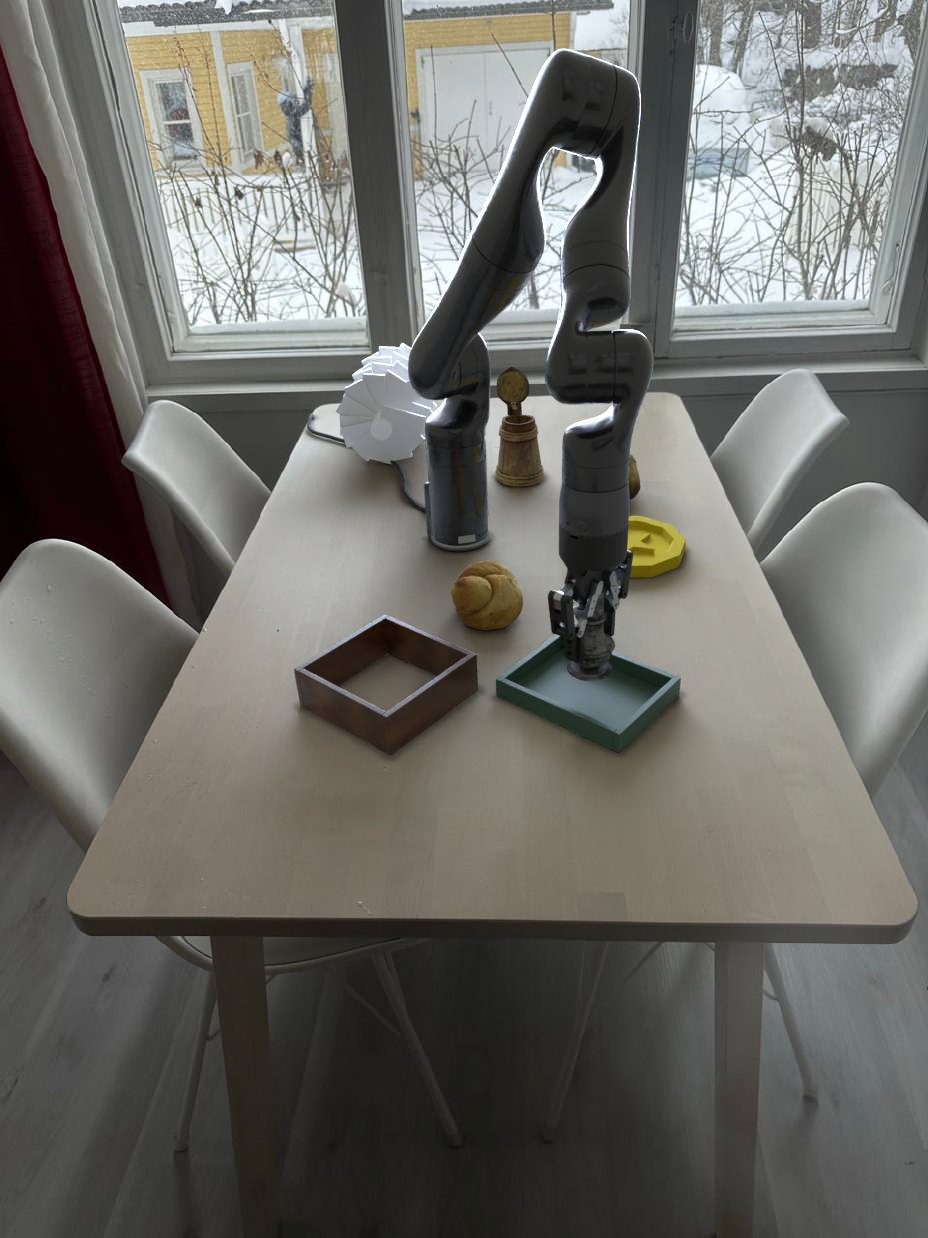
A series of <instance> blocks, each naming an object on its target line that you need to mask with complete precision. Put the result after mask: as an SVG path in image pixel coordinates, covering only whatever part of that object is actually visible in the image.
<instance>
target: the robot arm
mask: <svg viewBox="0 0 928 1238" xmlns="http://www.w3.org/2000/svg"><path fill="white" fill-rule="evenodd" d="M640 91H641V90H640V86H639V81H638V80H637V77H636V76H635V75H634V73H632V72H631V71H629V70H627V69H626V68H624V67H621V66H619V65H616V64H614V63H611V62H608V61H606V60H603V59H600V58H597V57H595V56H592V55H589V54H585V53H583V52H581V51H580V52H579V51H577V50H573V49H569V48H559V49H557V50H555V51H553V53H551V54H550V56H549V57H548V58H547V60H545V62H544V64H543V66H542V67H541V69H540V71H539V73H538V75H537V76H536V79H535V81H534V84H533V86H532V89H531V92H530V94H529V96H528V99H527V101H526V104H525V107H524V110H523V112H522V114H521V118H520V120H519V123H518V126H517V128H516V130H515V134H514V136H513V139H512V142H511V144H510V147H509V150H508V153H507V154H506V158H505V161H504V163H503V164H502V167H501V170H500V172H499V174H498V176H497V179H496V181H495V182H494V186H493V187H492V190H491V192H490V193H489V196H488V197H487V199H486V202H485V204H484V205H483V208H482V210H481V212H480V214H479V216H478V217H477V219H476V222H475V223H474V225H473V227H472V230H471V231H470V234H469V235H468V239H467V241H466V242H465V245H464V247H463V250H462V252H461V254H460V256H459V260H458V262H457V264H456V267H455V268H454V270H453V272H452V274H451V276H450V278H449V281H448V283H447V284H446V287H445V288H444V291H443V292H442V295H441V297H440V298H439V301H438V302H437V304H436V306H435V308H433V309H434V310H433V311H432V313H431V314H430V316H429V317H428V319H427V320H426V321H425V324H424V325H423V327H422V328H421V330H420V331H419V333H418V335H417V336H416V338H415V340H414V342H413V343H412V346H411V347H410V348H411V351H410V354H409V359H408V376H409V380H410V383H411V386H412V388H413V389H414V391H415V392H416V393H417V394H418V395H419V396H421V397H423V398H425V399H428V400H434V401H440V400H441V401H442V400H443V402H442V403H441V404H440V406H439V407H438V408H437V409H436V410H435V411H433V412H434V413H433V414H432V415H431V416H430V417H429V418H428V419H427V420H426V423H425V433H424V438H425V440H424V441H425V455H426V468H427V481H426V482H424V484H423V492H424V493H423V494H424V506H423V505H421V504H419V503H418V502H417V501H416V500H415V499H414V498H413V497H412V496H411V495H410V493H409V492H408V481H407V477H406V475H405V472H404V470H403V469H402V467H401V465H399V463H398V462H397V461H392V460H391V461H390V462H391V463H392V464H391V465H393V467H394V468H395V469H396V470H397V472H398V473H399V475H400V477H401V480H402V492H403V496H404V498H405V499H406V500H407V501H408V503H410V504H411V505H412V506H413V507H415V508H416V509H418V510H420V511H422V512H424V513H425V520H426V521H425V523H426V536H427V539H430V540H431V542H432V544H433V545H434V546H436V547H437V548H439V549H442V550H444V551H449V552H466V551H467V552H468V551H472V550H476V549H478V548H481V547H483V546H485V545H486V544H487V543H488V542H489V540H490V537H491V536H490V529H489V528H490V527H489V495H488V492H489V491H488V464H487V461H488V460H487V440H486V439H487V436H486V433H487V432H486V429H487V425H488V422H489V420H490V415H491V378H492V377H491V376H492V375H491V373H492V372H491V371H492V370H491V359H490V353H489V350H488V346H487V343H486V341H485V339H484V338H483V336H482V334H481V333H480V332H481V331H483V330H484V329H485V328H486V327H487V326H488V325H490V324H491V323H492V322H493V321H494V320H496V318H498V317H499V316H500V315H502V314H503V313H504V311H506V310H507V309H508V307H510V306H511V305H512V304H513V303H514V302H515V301H516V300H517V299H518V298H519V297H520V295H521V294H522V293H523V291H524V289H525V288H526V287H527V286H528V283H529V281H530V280H531V278H532V276H533V274H534V272H535V271H536V268H537V267H538V265H539V264H540V262H541V260H542V258H543V256H544V253H545V250H546V244H547V231H546V222H545V215H544V209H543V204H542V199H541V191H540V172H541V169H542V166H543V163H544V161H545V158H546V156H547V155H548V153H549V152H550V150H552V149H556V150H560V151H563V152H567V153H570V154H572V155H575V156H576V155H577V156H580V157H583V158H585V159H590V160H594V162H595V166H596V173H597V175H596V176H597V177H596V181H595V183H594V185H593V186H592V188H591V189H590V191H589V192H588V194H587V195H586V196H585V198H584V199H583V201H582V202H581V203H580V204H579V205H578V207H577V209H576V210H575V211H574V213H573V214H572V215H571V217H570V219H569V220H568V222H567V224H566V227H565V229H564V231H563V234H562V238H561V242H560V249H559V271H560V272H559V274H560V275H559V276H560V277H559V278H560V305H559V313H558V317H557V322H556V326H555V329H554V332H553V336H552V338H551V342H550V344H549V348H548V351H547V355H546V360H545V365H544V382H545V385H546V388H547V390H548V392H549V394H550V396H551V397H552V398H553V399H554V400H555V401H557V402H558V403H560V404H562V405H568V406H571V405H572V406H576V405H579V406H580V405H607V404H608V405H609V404H611V405H610V406H609V408H608V409H607V410H606V411H605V412H604V413H602V414H600V415H598V416H595V417H592V418H587V419H584V420H581V421H578V422H575V423H573V424H571V425H569V426H568V427H567V428H566V429H565V431H564V432H563V436H562V445H561V486H560V491H559V498H558V499H559V501H558V555H559V558H560V560H561V561H562V562H563V563H564V565H565V568H566V575H565V578H564V582H563V584H564V585H563V586H562V587H561V588H560V589H559V590H555V589H550V590H549V591H548V593H547V604H548V611H549V624H550V630H551V634H553V635H555V634H556V635H559V636H562V637H564V655H565V657H566V658H567V659H568V660H571V661H573V662H576V663H580V662H581V661H582V660H583V659H584V630H585V627H586V623H587V620H588V619H589V618H591V617H592V616H593V613H594V609H595V606H596V602H597V598H598V596H599V595H600V594H601V592H603V593H604V612H605V613H606V615H607V618H606V620H605V621H604V633H606V634H608V635H609V636H611V637H612V638H613V636H614V635H615V629H616V628H615V627H616V611H617V610H618V609H619V607H620V603H621V602H620V600H621V599H622V600H625V599H627V597H628V595H629V588H630V581H631V578H630V575H631V567H632V560H633V552H631V551H628V550H627V545H628V527H629V516H630V510H631V509H630V507H631V500H630V494H629V461H630V454H631V446H632V440H633V434H634V431H635V427H636V423H637V421H638V417H639V414H640V411H641V407H642V405H643V402H644V400H645V397H646V395H647V392H648V389H649V387H650V383H651V379H652V376H653V372H654V367H655V365H654V364H655V357H654V351H653V348H652V345H651V343H650V340H649V339H648V338H647V337H646V335H645V334H643V333H642V332H640V331H638V330H635V329H613V330H595V329H598V328H601V327H605V326H608V325H611V324H613V323H615V322H617V321H619V320H621V319H622V318H623V317H624V316H625V315H626V314H627V312H628V311H629V308H630V305H631V299H632V297H631V295H632V294H631V293H632V292H631V291H632V290H631V272H630V253H629V221H630V220H629V217H630V207H631V199H632V192H633V184H634V177H635V170H636V169H635V168H636V161H637V159H636V158H637V151H638V150H637V149H638V142H639V141H638V140H639V131H640V122H641V105H642V103H641V92H640ZM314 419H315V414H314V413H310V414H309V415H308V418H307V421H306V427H307V430H308V432H310V433H311V434H313V435H315V436H318V437H322V438H325V439H329V440H332V441H336V442H339V443H342V444H346V443H345V441H344V438H343V437H342V438H341V437H338V436H335V435H331V434H329V433H324V432H321V431H317V430H315V429H313V428H312V420H314ZM617 579H619V580H620V586H619V585H618V582H617ZM576 603H577V604H579V603H580V604H583V605H586V608H585V609H582V608H579V606H576ZM575 615H577V616H578V617H579V620H577V622H576V623H577V624H575Z"/></svg>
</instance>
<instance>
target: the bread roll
mask: <svg viewBox="0 0 928 1238" xmlns="http://www.w3.org/2000/svg"><path fill="white" fill-rule="evenodd" d="M450 596H451V600H452V603H453V605H454V607H455V611H456V614H457V616H458V618H459V620H461V622H462V623H463V624H464V625H465V626H468V627H470V628H473V629H475V630H478V631H479V630H480V631H482V630H483V631H491V630H499V629H503V628H505V627H508V626H510V625H511V624H513V623H514V621H516V619H518V618H519V616H520V615H521V613H522V610H523V608H524V607H523V606H524V597H523V594H522V590H521V589H520V587H519V585H518V582H517V580H516V577H515V575H514V574H513V573H512V571H511V570H510V569H509V568H508V567H507V566H504V565H502V563H499V562H498V561H496V560H491V559H490V560H481V561H477V562H473V563H470V564H468V565H467V566H465V568H464V569H463V570H461V572H460V573H459V575H458V576H457V578H456V580H455V582H454V583H453V584H452V586H451V589H450Z"/></svg>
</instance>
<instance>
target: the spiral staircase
mask: <svg viewBox="0 0 928 1238" xmlns="http://www.w3.org/2000/svg"><path fill="white" fill-rule="evenodd" d="M411 348H412V347H410V346H409V345H407V344H405V343H404V342H401V344H400V345H399V347H396V346H382V345H381V346H378V351H377V352H375V353H374V354H372V355H370V356H368V357H366V358H364V359H363V360H361V365H363V367H361V368H360V369H358V370H356V371H355V372H354V373H353V374H352V375H351V377H352V379H353V382H352V383H351V384H348V385H347V386H345V387H343V391H344V394H343V395H342V398H343V399H342V400H341V401H340V403H339V404H338V406H337V408H336V410H335V412H336V413H337V414H339V435H340V436H342V439H344V441H345V443H344V444H345V446H346V448H351V449H352V450H353V451H355V453H357V454H358V455H359V456H360V457H361V458H363V459H364V460H365V461H366V462H369V461H370V460H372V461H375V462H376V461H377V462H380V463H384V464H388V465H393V464H392V463H391V462H390V461H391V460H392V461H395V462H397V461H400V460H405V459H409V458H413V457H414V455H413V451H414V450H415V449H416V448H417V447H419V446H420V445H421V444H422V443H423V442H424V441H425V436H424V435H425V423H426V420H427V419H428V418H429V417H430V416H431V415H432V414H433V413H434V412H435V411H434V410H435V409H436V408H437V407H438V405H437V403H436V402H435V400H428V399H425V398H423V397H421V396H419V395H418V394H417V393H416V392H415V391H414V389H413V388H412V386H411V383H410V380H409V376H408V359H409V354H410V351H411Z"/></svg>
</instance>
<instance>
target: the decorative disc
mask: <svg viewBox="0 0 928 1238" xmlns="http://www.w3.org/2000/svg"><path fill="white" fill-rule="evenodd" d="M686 545H687V538H686V537H685V536H684V535H682V534H681V532H679V530H678V529H676V528H675V527H674V525H673V524H671V523H668V522H664V521H661V520H657V519H654V518H650V517H647V516H642V515H629V527H628V545H627V550H628V551H631V552H633V560H632V567H631V575H630V579H632V578H654V577H655V576H659V575H661V574H664V573H666V572H669V571H671V570H674V569H677V568H679V566H680V565H681V562H682V559H683V557H684V554H685V552H686Z"/></svg>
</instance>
